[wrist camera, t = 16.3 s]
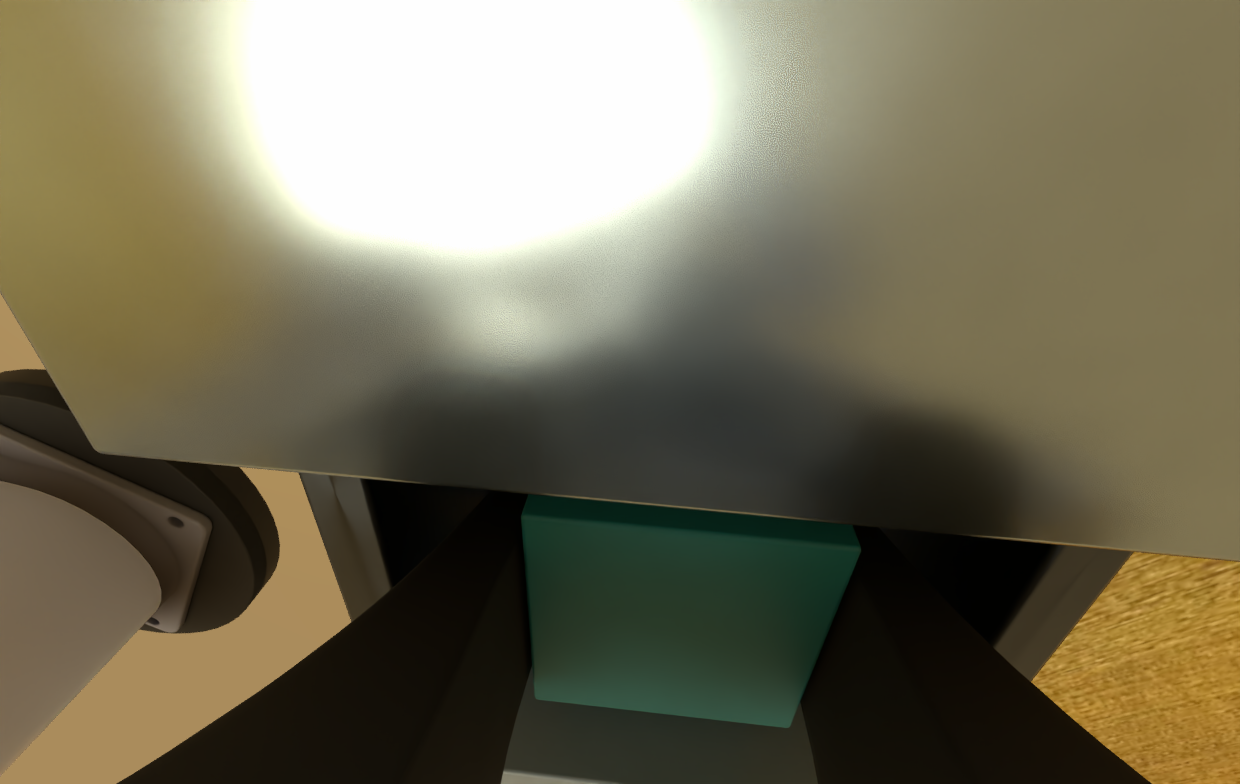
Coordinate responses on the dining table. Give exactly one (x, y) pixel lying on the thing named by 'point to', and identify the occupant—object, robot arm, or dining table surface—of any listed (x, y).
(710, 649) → the teal green cube
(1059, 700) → the dining table surface
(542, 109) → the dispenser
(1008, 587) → the grey drawer
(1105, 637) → the dining table surface
